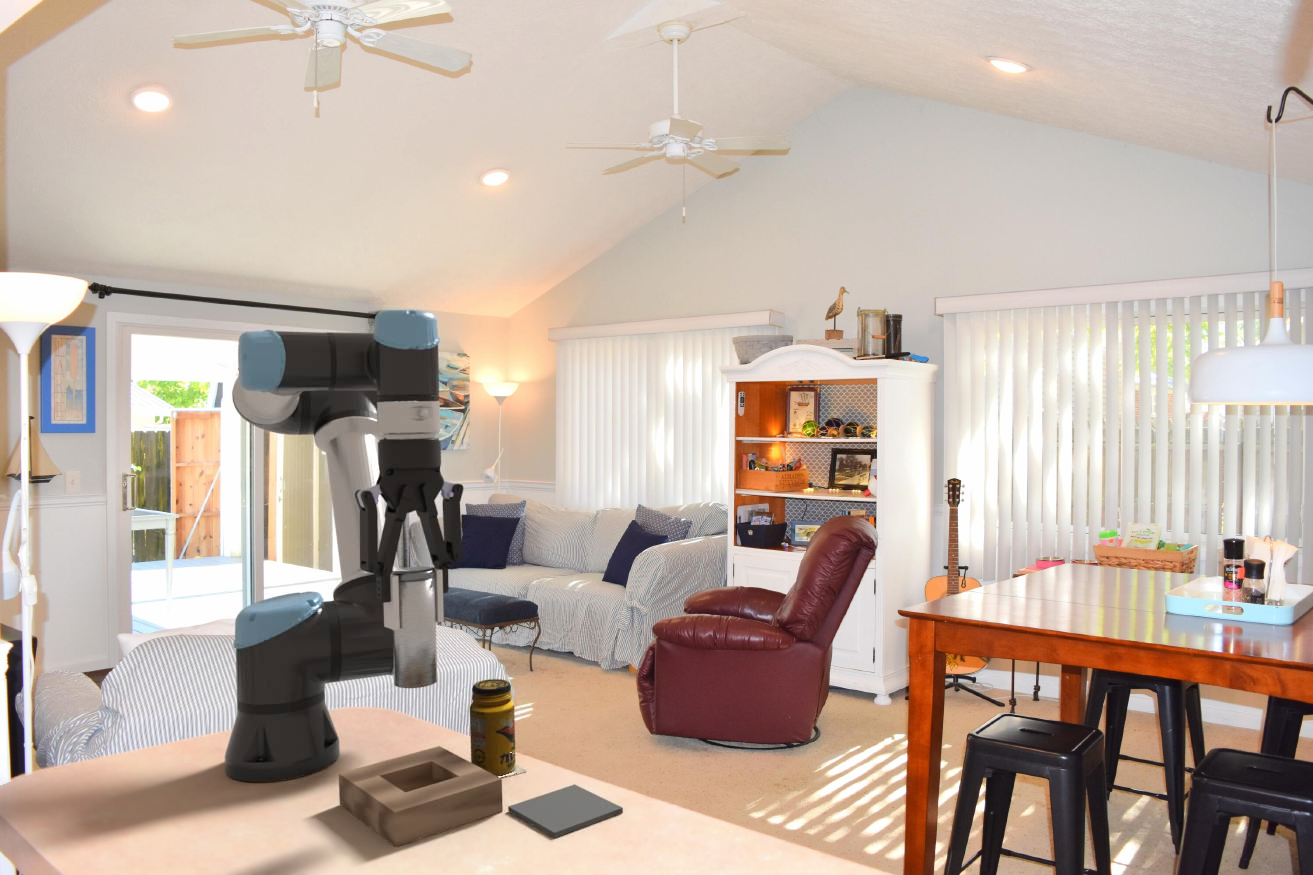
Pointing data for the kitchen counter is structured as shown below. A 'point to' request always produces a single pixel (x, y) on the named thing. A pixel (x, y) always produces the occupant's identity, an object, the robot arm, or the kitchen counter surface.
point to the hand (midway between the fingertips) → (414, 623)
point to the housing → (419, 794)
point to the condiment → (493, 728)
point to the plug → (415, 629)
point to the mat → (565, 810)
